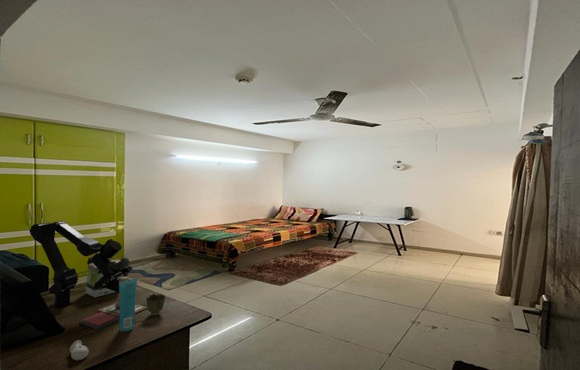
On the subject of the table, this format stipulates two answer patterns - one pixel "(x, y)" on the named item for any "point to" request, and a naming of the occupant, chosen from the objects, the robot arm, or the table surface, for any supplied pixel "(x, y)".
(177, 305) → the table surface
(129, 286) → the tube
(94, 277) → the tea box
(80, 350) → the pale two-lobed sculpture
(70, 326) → the table surface
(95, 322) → the ink pad
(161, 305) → the cup
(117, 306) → the stamp
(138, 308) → the wooden picture frame
